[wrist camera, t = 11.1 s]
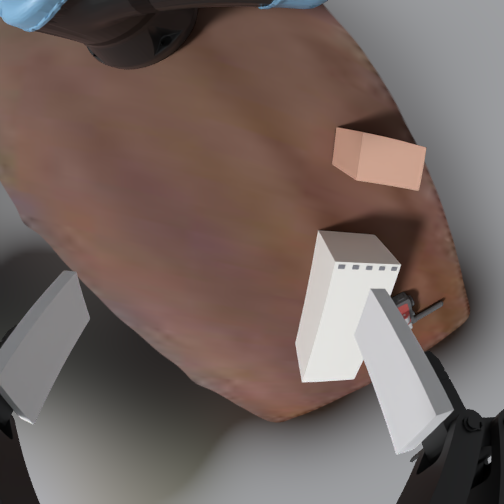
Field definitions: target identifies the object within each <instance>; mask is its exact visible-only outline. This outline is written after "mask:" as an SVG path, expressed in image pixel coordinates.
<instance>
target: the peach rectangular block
mask: <svg viewBox="0 0 504 504" xmlns="http://www.w3.org/2000/svg"><path fill="white" fill-rule="evenodd" d="M425 153H426V147H422V146H419V145H415V144H412V143H408V142H404V141H400V140H396V139H392V138H388V137H384V136H379V135H375V134H370V133H365V132H360V131H355V130H349V129H344V128H338V127H336V136H335V145H334V153H333V161H332V165H334V166H335V167H337V168H338V169H340V170H341V171H343V172H345V173H346V174H348V175H349V176H351V177H352V178H353V179H355V180H358V181H364V182H371V183H378V184H384V185H390V186H396V187H401V188H407V189H412V190H417V191H419V186H420V182H421V177H422V171H423V166H424V160H425Z"/></svg>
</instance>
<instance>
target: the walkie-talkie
mask: <svg viewBox="0 0 504 504" xmlns="http://www.w3.org/2000/svg"><path fill="white" fill-rule="evenodd" d="M391 299H392V300H393V302H394V303H395V305H396V306H397V308H398V310H399V311H400V313H401V314H402V316H403V318H404V319H405V321H406V322H407V324H408V326H409V327H410V329H411V328H412V324H413V323H415V322H417V320H419V319H421V318H423V317H424V316H426V315H428V314H430V313H431V312H433V311H435V310H436V309H438V308H440V307H441V306H443V302H442V301H440V302H438V303H437V304H435V305H433V306H432V307H430V308H428V309H427V310H425V311H423V312H421V313H420V314H418V315H416V316H413V315H415V313H414V312H413V311H412V306H414V301H413V298H412V297H411V296H410V295H409V296H407V295H406V293H405V292H402V293H400V294H398V295H396V296H394V297H392V298H391Z"/></svg>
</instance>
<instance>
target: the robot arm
mask: <svg viewBox="0 0 504 504" xmlns="http://www.w3.org/2000/svg"><path fill="white" fill-rule="evenodd" d="M326 1H328V0H0V16H1V17H2V18H3V20H4V22H6V23H7V24H10V25H12V26H15V27H18V28H21V29H23V30H24V31H28V32H31V31H32V32H33V31H37V32H41V33H46V34H50V35H54V36H58V37H62V38H66V39H70V40H74V41H77V42H80V43H84V44H85V45H86V46H87V48H88V50H89V51H90V53H91V54H92V55H93V56H94V57H95V58H96V59H97V60H98V61H100V62H101V63H103V64H105V65H108V66H111V67H115V68H119V69H138V68H143V67H147V66H150V65H152V64H155V63H157V62H159V61H161V60H163V59H164V58H166V57H167V56H169V55H170V54H172V53H173V52H174V51H175V50H176V49H178V48H179V47H180V46H181V45H182V43H183V42H184V41H185V40H186V39H187V37H188V36H189V34H190V33H191V31H192V29H193V27H194V24H195V22H196V18H197V12H198V8H203V7H229V6H242V7H258V8H259V9H270V8H273V7H280V8H295V9H310V8H314V7H317V6H319V5H321V4H322V3H325V2H326ZM89 319H90V317H89V314H88V311H87V308H86V304H85V301H84V298H83V295H82V291H81V288H80V284H79V280H78V277H77V273H76V272H73V271H63V272H62V273H61V274H60V275H59V276H58V278H57V279H56V280H55V281H54V282H53V283H52V284H51V285H50V286H49V288H48V289H47V290H46V291H45V292H44V293H43V295H42V296H41V297H40V298H39V299H38V300H37V302H36V303H35V304H34V305H33V306H32V308H31V309H30V310H29V311H28V313H27V314H26V315H25V316H24V318H23V319H22V320H21V321H20V323H19V324H18V325H16V326H14V327H13V328H11V329H10V330H9V331H8V332H7V333H6V334H5V336H4V337H3V338H2V340H1V342H0V504H40V503H39V501H38V498H37V496H36V493H35V491H34V488H33V485H32V482H31V479H30V477H29V474H28V470H27V467H26V464H25V461H24V457H23V454H22V450H21V446H20V442H19V438H18V434H17V430H16V425H15V420H14V418H13V416H12V415H11V414H12V412H13V410H14V411H15V413H16V414H17V415H18V416H19V417H20V418H21V419H23V420H25V421H27V422H29V423H31V424H33V425H34V424H35V421H36V419H37V417H38V415H39V412H40V410H41V408H42V406H43V404H44V402H45V400H46V398H47V395H48V393H49V391H50V389H51V387H52V385H53V384H54V381H55V380H56V378H57V376H58V374H59V372H60V370H61V368H62V366H63V364H64V363H65V361H66V359H67V357H68V355H69V354H70V352H71V350H72V348H73V347H74V345H75V343H76V341H77V340H78V338H79V336H80V334H81V333H82V331H83V329H84V328H85V326H86V324H87V323H88V321H89ZM354 336H355V339H356V341H357V344H358V346H359V349H360V351H361V354H362V356H363V359H364V362H365V364H366V367H367V370H368V372H369V375H370V378H371V380H372V383H373V385H374V389H375V391H376V394H377V397H378V400H379V403H380V406H381V409H382V412H383V414H384V417H385V420H386V423H387V427H388V430H389V433H390V436H391V439H392V442H393V445H394V449H395V452H396V454H400V453H404V452H407V451H411V450H413V449H414V448H416V447H417V446H418V445H419V444H420V443H421V442H422V445H423V449H422V450H421V451H419V452H418V453H417V454H416V455H415V456H413V458H412V459H411V460H410V462H413V461H414V460H415V459H417V461H416V463H415V466H414V468H413V470H412V473H411V475H410V477H409V479H408V481H407V483H406V486H405V487H404V490H403V492H402V494H401V496H400V497H399V499H398V501H397V503H396V504H504V409H503V410H502V411H501V412H500V413H499V414H498V415H497V416H496V417H490V418H482V417H481V416H480V415H479V413H477V412H476V411H474V410H470V409H467V410H466V408H465V407H464V405H463V403H462V401H461V399H460V397H459V395H458V393H457V391H456V389H455V388H454V386H453V384H452V382H451V380H450V379H449V376H448V375H447V373H446V372H445V371H444V367H443V366H442V364H441V362H440V360H439V359H438V358H437V357H436V356H435V355H434V354H433V353H432V352H430V351H427V352H424V351H423V349H422V348H421V346H420V344H419V343H418V341H417V339H416V337H415V336H414V334H413V332H412V331H411V329H410V327H409V326H408V324H407V322H406V321H405V319H404V318H403V316H402V314H401V313H400V311H399V310H398V308H397V306H396V305H395V303H394V302H393V300H392V299H391V297H390V295H389V294H388V292H387V291H386V289H372V288H370V291H369V294H368V297H367V300H366V303H365V306H364V309H363V312H362V315H361V317H360V320H359V323H358V326H357V328H356V331H355V334H354ZM490 456H491V457H492V458H491V463H489V464H488V461H487V459H488V458H489V457H490Z"/></svg>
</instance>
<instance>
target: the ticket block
mask: <svg viewBox="0 0 504 504" xmlns="http://www.w3.org/2000/svg"><path fill="white" fill-rule="evenodd" d="M400 267H401V264H400V263H399V262H398V260H397V259H396V258H395V257H394V256H393V255H392V253H391V252H390V251H389V250H388V249H387V248H386V247H385V246H384V244H383V243H382V242H381V241H380V240H379V239H378V238H377V237H376V236H375V235H372V234H361V233H348V232H335V231H322V230H318V234H317V240H316V246H315V251H314V257H313V262H312V267H311V273H310V278H309V283H308V288H307V293H306V297H305V302H304V307H303V312H302V316H301V321H300V325H299V330H298V334H297V338H296V343H295V344H296V350H297V356H298V362H299V367H300V373H301V379H302V382H320V381H336V380H349V379H354V378H355V376H356V374H357V372H358V370H359V368H360V366H361V364H362V362H363V356H362V354H361V351H360V349H359V346H358V344H357V341H356V339H355V336H354V334H355V331H356V328H357V326H358V323H359V320H360V317H361V315H362V312H363V309H364V306H365V303H366V300H367V297H368V294H369V291H370V288H372V289H386V291H387V292H388V294H389V295H391V293H392V290H393V287H394V284H395V281H396V279H397V276H398V273H399V270H400Z"/></svg>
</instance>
